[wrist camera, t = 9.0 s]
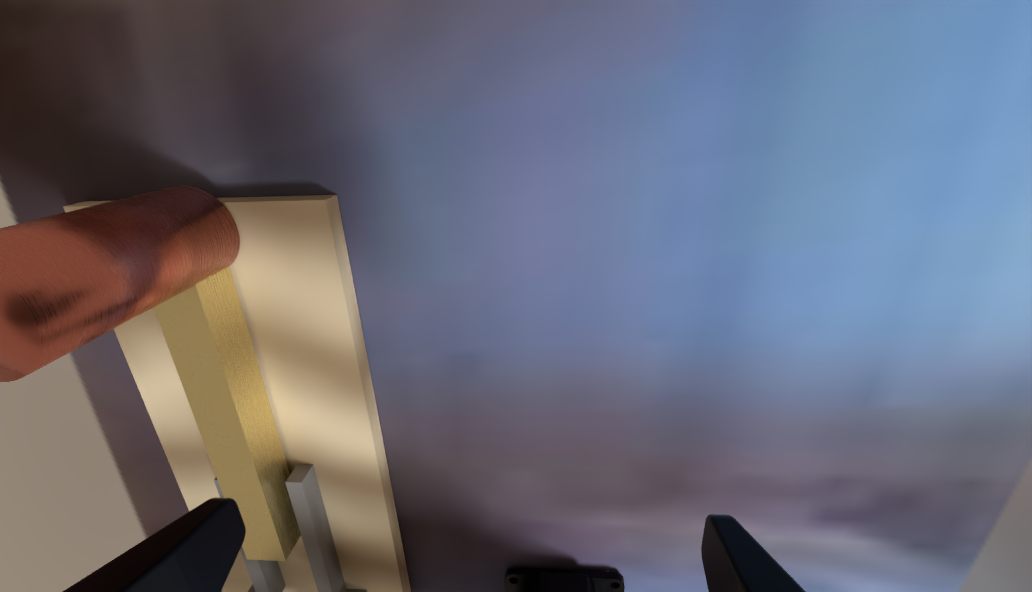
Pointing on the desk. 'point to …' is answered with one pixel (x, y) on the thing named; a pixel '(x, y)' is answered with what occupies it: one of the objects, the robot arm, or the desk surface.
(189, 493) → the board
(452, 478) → the desk surface
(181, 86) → the desk surface
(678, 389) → the desk surface
